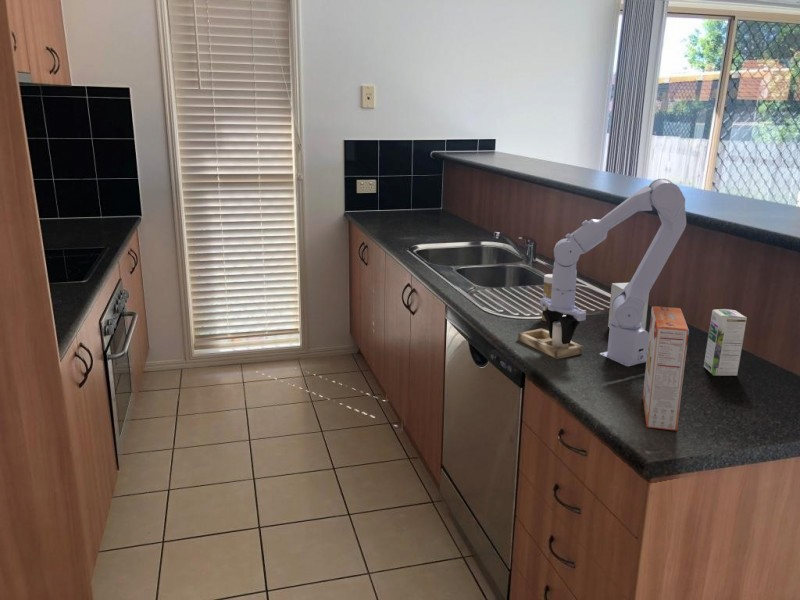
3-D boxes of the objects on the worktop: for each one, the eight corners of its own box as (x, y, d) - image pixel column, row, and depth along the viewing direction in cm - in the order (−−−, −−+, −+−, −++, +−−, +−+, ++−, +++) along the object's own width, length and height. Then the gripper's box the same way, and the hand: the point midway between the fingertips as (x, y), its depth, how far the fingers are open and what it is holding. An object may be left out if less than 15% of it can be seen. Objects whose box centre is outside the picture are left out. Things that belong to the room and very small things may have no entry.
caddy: (582, 355, 164) (582, 346, 163) (557, 361, 160) (558, 351, 160) (541, 337, 177) (542, 328, 176) (517, 341, 174) (518, 332, 173)
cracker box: (640, 398, 140) (651, 304, 134) (670, 402, 138) (682, 307, 132) (643, 428, 127) (655, 325, 121) (677, 432, 125) (691, 328, 119)
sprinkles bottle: (554, 323, 188) (557, 278, 184) (539, 321, 190) (542, 276, 187) (559, 319, 192) (562, 274, 188) (544, 316, 194) (546, 272, 190)
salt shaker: (571, 350, 164) (573, 324, 162) (558, 353, 163) (560, 326, 161) (560, 345, 168) (562, 319, 166) (547, 348, 166) (549, 322, 164)
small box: (633, 325, 186) (638, 281, 183) (645, 333, 180) (650, 287, 177) (607, 327, 185) (611, 282, 181) (617, 334, 179) (622, 288, 175)
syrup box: (702, 366, 157) (710, 308, 153) (727, 366, 157) (736, 309, 153) (712, 376, 152) (721, 316, 147) (738, 376, 151) (748, 316, 147)
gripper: (531, 283, 165) (529, 334, 169) (571, 297, 153) (567, 352, 157) (553, 280, 168) (550, 330, 172) (594, 293, 156) (589, 347, 160)
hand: (560, 340), depth 165 cm, fingers closed on salt shaker, 4 cm apart
